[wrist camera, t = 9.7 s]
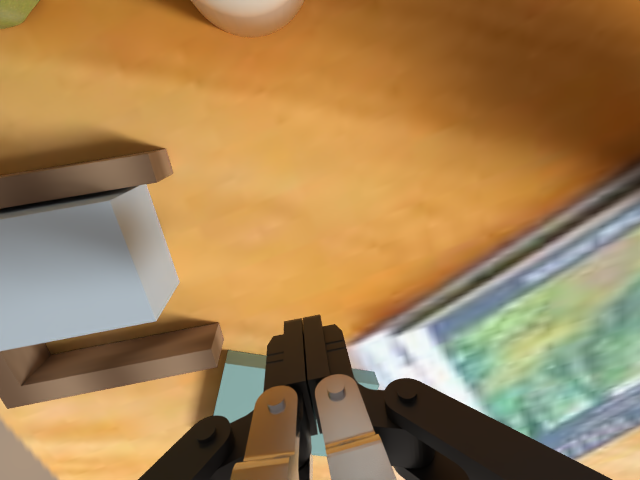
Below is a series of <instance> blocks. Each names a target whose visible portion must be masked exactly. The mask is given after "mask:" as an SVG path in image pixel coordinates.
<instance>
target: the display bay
mask: <svg viewBox="0 0 640 480" xmlns="http://www.w3.org/2000/svg"><path fill="white" fill-rule="evenodd" d="M172 174H173V170H172V167H171V164H170V160H169V157H168V154H167V151H166V149H161V150H155V151H149V152H143V153H136V154H130V155H124V156H118V157H112V158H106V159H99V160H93V161H87V162H81V163H75V164H69V165H62V166H56V167H50V168H44V169H38V170H31V171H25V172H19V173H13V174H7V175H1V176H0V209H1V208H7V207H13V206H19V205H25V204H31V203H36V202H42V201H48V200H54V199H60V198H66V197H72V196H78V195H84V194H90V193H96V192H102V191H108V190H114V189H120V188H126V187H132V186H138V185H144V184H150V183H156V182H159V181H160V180H162V179H164V178H166V177H168V176H170V175H172ZM223 341H224V338H223V335H222V331H221V328H220V325H219V323H215V324H209V325H204V326H199V327H194V328H188V329H183V330H178V331H173V332H168V333H162V334H157V335H152V336H147V337H141V338H136V339H131V340H126V341H120V342H115V343H110V344H105V345H100V346H94V347H89V348H84V349H79V350H73V351H68V352H63V353H58V354H52V355H51V354H50V352H49V351H48V349H47V347H46V345H45V343H40V344H35V345H30V346H25V347H20V348H14V349H9V350H4V351H0V398H1V400H2V401H3V403H4V404H5V406H6V407H7V409H9V408H14V407H19V406H24V405H29V404H34V403H39V402H44V401H49V400H54V399H59V398H65V397H70V396H75V395H80V394H85V393H90V392H95V391H100V390H105V389H110V388H115V387H120V386H125V385H130V384H135V383H140V382H145V381H150V380H155V379H160V378H165V377H170V376H175V375H180V374H186V373H191V372H196V371H201V370H206V369H211V368H216V367H217V365H218V361H219V357H220V353H221V349H222V345H223Z"/></svg>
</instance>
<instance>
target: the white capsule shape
mask: <svg viewBox="0 0 640 480" xmlns="http://www.w3.org/2000/svg"><path fill="white" fill-rule="evenodd" d="M304 1H305V0H191V2H192V3H193V4H194V6H195V7H196V8H197V9H198V10H199V12H200V13H201V14H202V15H203V16H204V17H205V18H206V19H207V20H209V21H210V22H211V23H212V24H214V25H215V26H217V27H218V28H220V29H222V30H224V31H225V32H228V33H231V34H233V35H237V36H241V37H261V36H266V35H269V34H271V33H274V32H276V31H278V30H280V29H281V28H283V27H284V26H285V25H287V24H288V23H289V22H290V21H291V20H292V19H293V18H294V17H295V15H296V14H297V13H298V11H299V10H300V8H301V6H302V4H303V3H304Z"/></svg>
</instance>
